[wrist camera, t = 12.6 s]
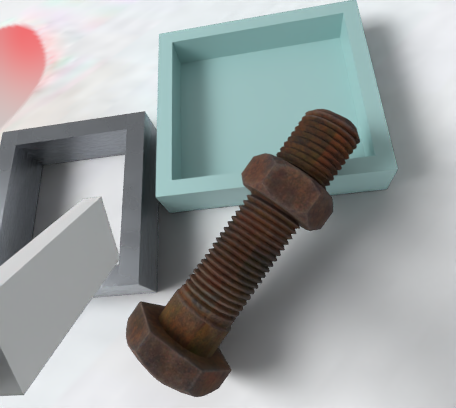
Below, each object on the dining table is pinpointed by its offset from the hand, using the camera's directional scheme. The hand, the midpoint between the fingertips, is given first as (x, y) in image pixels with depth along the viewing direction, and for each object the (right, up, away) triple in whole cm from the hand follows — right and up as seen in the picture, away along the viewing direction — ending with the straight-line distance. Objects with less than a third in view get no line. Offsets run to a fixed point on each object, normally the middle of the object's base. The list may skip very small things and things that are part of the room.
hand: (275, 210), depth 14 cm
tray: (+1, +6, +13) cm, 15 cm away
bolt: (+4, +5, +6) cm, 8 cm away
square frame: (-12, -1, +12) cm, 17 cm away
